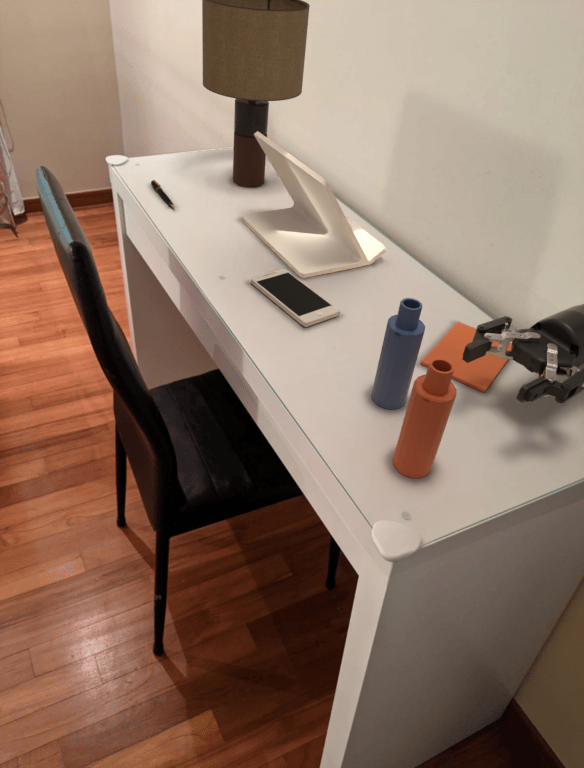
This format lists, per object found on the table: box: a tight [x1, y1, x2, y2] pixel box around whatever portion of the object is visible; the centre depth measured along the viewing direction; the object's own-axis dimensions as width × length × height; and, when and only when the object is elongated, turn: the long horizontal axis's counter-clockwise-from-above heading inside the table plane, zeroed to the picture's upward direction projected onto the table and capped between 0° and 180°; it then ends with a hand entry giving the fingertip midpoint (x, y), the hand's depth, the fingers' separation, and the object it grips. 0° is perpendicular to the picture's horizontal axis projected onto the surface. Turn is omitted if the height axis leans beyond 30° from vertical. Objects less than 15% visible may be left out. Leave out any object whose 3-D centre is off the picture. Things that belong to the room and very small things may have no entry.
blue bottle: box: [371, 297, 426, 410], centre depth 78 cm, size 5×5×15 cm
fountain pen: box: [150, 179, 175, 208], centre depth 126 cm, size 14×1×2 cm, turn 28°
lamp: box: [201, 0, 311, 189], centre depth 126 cm, size 20×20×35 cm
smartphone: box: [250, 268, 341, 328], centre depth 100 cm, size 7×16×1 cm, turn 37°
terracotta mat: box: [420, 321, 512, 393], centre depth 92 cm, size 10×14×1 cm
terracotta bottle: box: [392, 358, 458, 479], centre depth 69 cm, size 5×5×15 cm
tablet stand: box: [240, 131, 387, 279], centre depth 112 cm, size 18×25×17 cm
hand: (492, 374), depth 73 cm, fingers open, 8 cm apart
